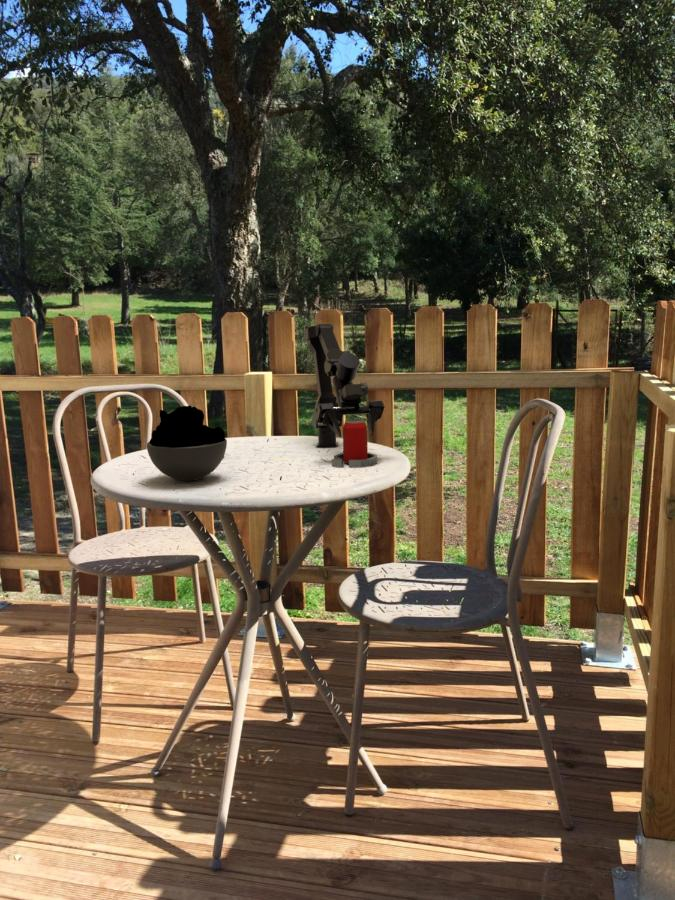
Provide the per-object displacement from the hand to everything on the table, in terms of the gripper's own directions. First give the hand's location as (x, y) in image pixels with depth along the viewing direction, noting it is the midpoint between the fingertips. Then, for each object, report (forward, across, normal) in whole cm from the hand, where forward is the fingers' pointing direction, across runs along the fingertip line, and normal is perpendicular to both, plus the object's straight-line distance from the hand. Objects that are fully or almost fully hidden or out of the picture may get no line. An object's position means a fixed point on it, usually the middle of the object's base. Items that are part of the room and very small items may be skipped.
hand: (356, 435), depth 208 cm
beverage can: (+5, 0, +7) cm, 8 cm away
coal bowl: (+9, -46, +3) cm, 47 cm away
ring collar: (+5, 0, +7) cm, 8 cm away
